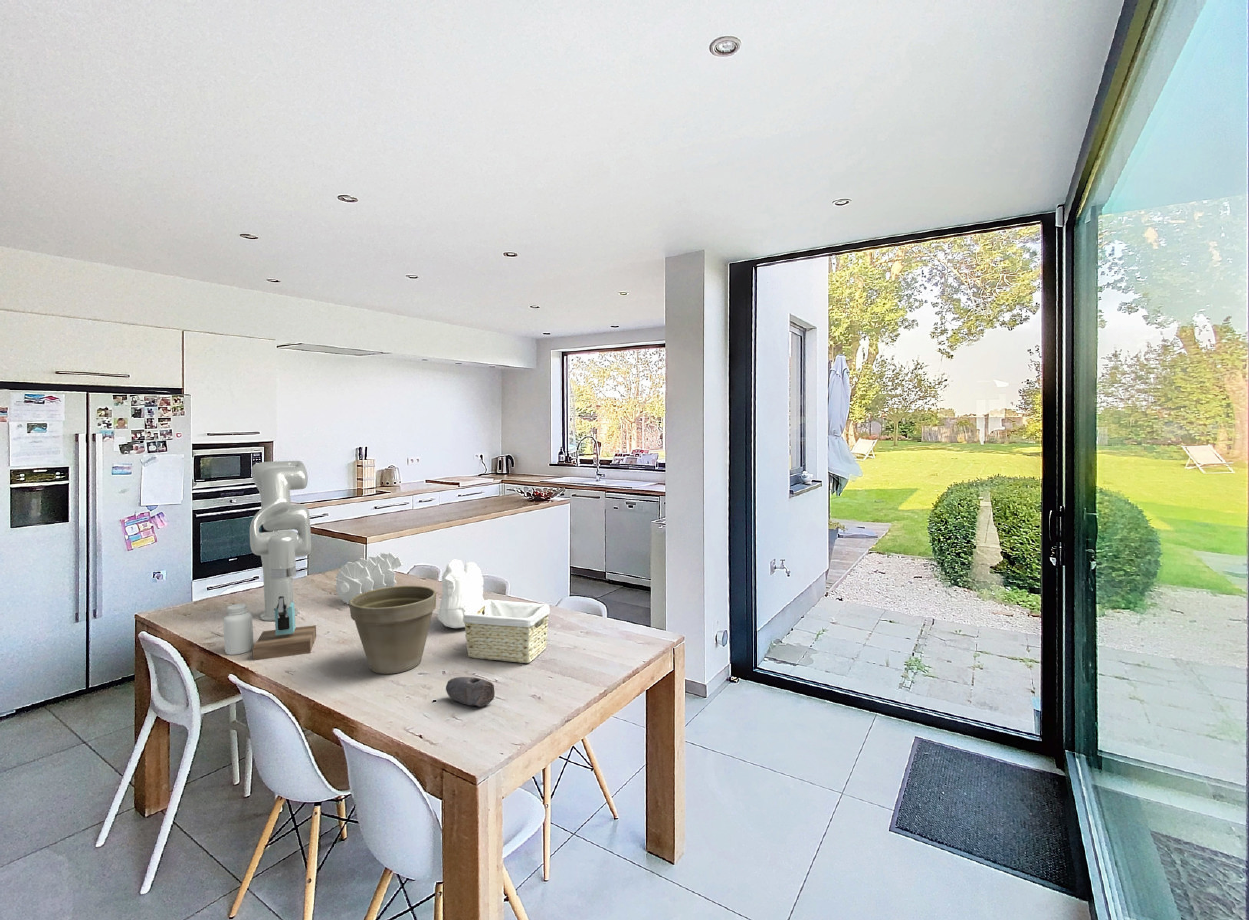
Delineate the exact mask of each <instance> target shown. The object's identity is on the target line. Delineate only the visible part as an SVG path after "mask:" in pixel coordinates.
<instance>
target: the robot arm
mask: <svg viewBox="0 0 1249 920" xmlns="http://www.w3.org/2000/svg"><path fill="white" fill-rule="evenodd" d="M251 477H252V481H253V482H254V484H255V486H256V489H257V490H258V491H259V493H258V494H259V496H260V504H261V507H260V509H259V511H257V512H256V513H255V514H254V516H253V518H252V520H251V522H250V524H249V546H250V550H251V552H252V554H254V555H256V556H260V558H261V564H262V565H261V566H262V574H263V575H262V577H263V581H262V582H263V599H264V612H263V613H261V614H260V615H259V616H260V620H262V621H267V622H269V621H270V622H271V621H272V622H273V621H274V622H275V609H276V608H277V607H278V630H286V629H289V628H290V626H289V617H288V608H289V607H290V606H291V604H292V602H294V581H293V578H294V577H297V571H296V569H297V568H296V558H301V557H306V556H309V555H310V553H311V552H312V533H311V529H312V528H311V517H310V516H311V515H310V511H309V509H308V507H307V506H306V505H304V504H292V498H291V491H294V490H304V489H306V488H307V487H308V482H309V481H308V480H309V476H308V471H307V469H306V466H305V464H304V463H303V461H301V460H283V461H280V460H279V461H278V460H277V461H263V462H262V461H261V462H257V463H254V464H253V465H252V466H251ZM261 526H262V527H263V529H264V530H266V531H265V532H260V528H261ZM295 530H296V531H297V532H296V531H295ZM284 606H286V608H283V607H284ZM284 610H286V613H285V611H284ZM298 614H299V610H298V609H297V608H295V616H296V615H298Z"/></svg>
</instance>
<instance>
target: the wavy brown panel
mask: <svg viewBox="0 0 1249 920" xmlns="http://www.w3.org/2000/svg"><path fill="white" fill-rule="evenodd" d="M316 639H317V625H306V626H297V627H296V626H295V630H294V633H291V634H283V635H276V630H275V629H271V630H263V631H262V632H261V634H260V636H259V637H258V638H257V641H255V643H254V644H253V649H252V659H253V661H258V660H267V659H274V658H275V659H276V658H282V657H291V656H297V655H304V654H305V655H306V654H311V652H312V650H313V647H314V645H315V644H314V643H315V641H316Z"/></svg>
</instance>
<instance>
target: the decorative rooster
mask: <svg viewBox="0 0 1249 920" xmlns="http://www.w3.org/2000/svg"><path fill="white" fill-rule="evenodd" d="M445 567H446V568H445V570H444V572H443V573H442V575H441V590H442V591H441V592H442V593H441V600H440V604H439V609H438V611H437V619H438V622H441V623H442V624H443V626H445V627H448V628H452V629H459V628H465V623H464V622H463V617H464V612H466V611H468V610H469V609H471V608H473V607H475V606H476V605H478V604H480V603H482V602H484V601H485V599H484V597H483V595H484V577H483V576H482V575H483V574H482V572H481V571H482V569H480V567H478V565H477V564H476V563H475V562H472V561H470V562H466V563H465V565H464V563H463V562H462V560H459V559H452V560H451V561H450V562H448V564H447V565H446V566H445ZM479 615H482V612H481V613H480V614H479Z"/></svg>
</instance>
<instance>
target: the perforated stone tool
mask: <svg viewBox="0 0 1249 920" xmlns="http://www.w3.org/2000/svg"><path fill="white" fill-rule="evenodd" d="M445 692H446V693H447V695H448V696H449V698H450V699H452V700H454V701H455V702H459V703H461V704H464V705H467V706H472V707H473V706H477V707H480V708H483V707H484V706H485V705H489V704H490V703H491V702H492V701H493V700H494V698H495V692H496V690H495V685H494V683H493V682H491V681H488V680H485V679H483V678H478V677H474V676H473V677H471V676H470V677H469V676H458V677H457V676H456V677H453V678H451V679H448V681H447V683H446V686H445Z"/></svg>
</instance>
